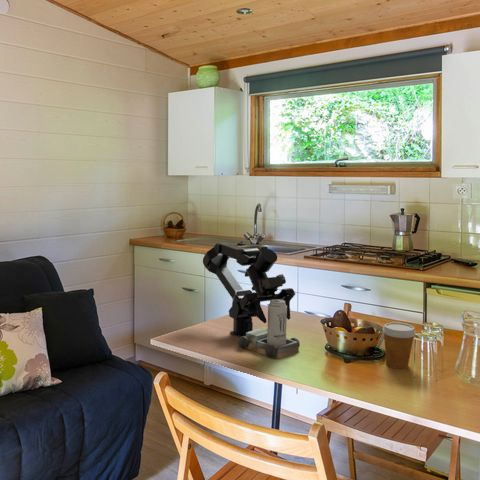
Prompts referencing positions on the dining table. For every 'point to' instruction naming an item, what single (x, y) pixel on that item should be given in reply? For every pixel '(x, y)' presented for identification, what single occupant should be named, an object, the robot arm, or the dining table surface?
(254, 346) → the chassis
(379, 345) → the frog figurine
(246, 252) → the robot arm
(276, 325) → the energy drink can
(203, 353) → the dining table surface
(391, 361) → the disposable coffee cup
